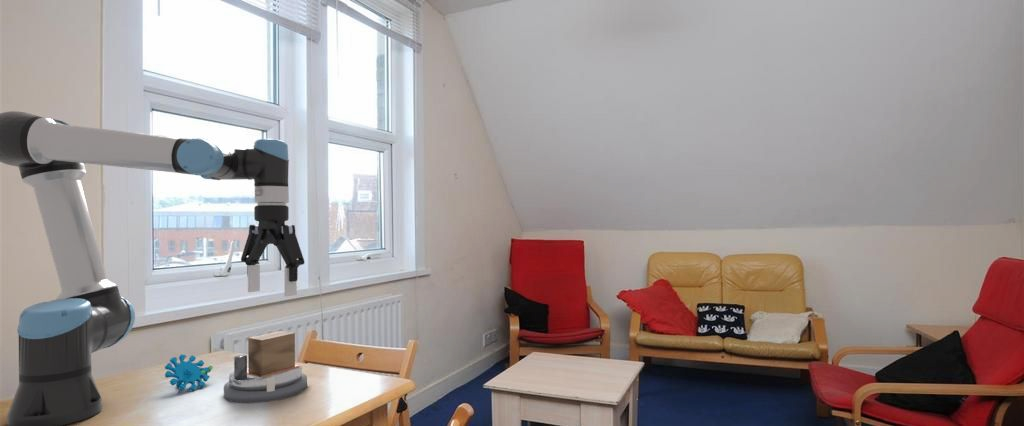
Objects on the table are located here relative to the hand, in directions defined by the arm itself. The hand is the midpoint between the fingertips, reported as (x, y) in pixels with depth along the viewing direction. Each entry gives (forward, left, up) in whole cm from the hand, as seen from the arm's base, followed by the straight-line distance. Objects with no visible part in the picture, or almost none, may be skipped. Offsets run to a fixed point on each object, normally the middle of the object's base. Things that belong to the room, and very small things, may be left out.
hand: (271, 293), depth 135 cm
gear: (-18, -9, -23) cm, 31 cm away
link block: (0, 0, -18) cm, 18 cm away
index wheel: (0, -2, -20) cm, 20 cm away
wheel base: (0, -2, -22) cm, 23 cm away
